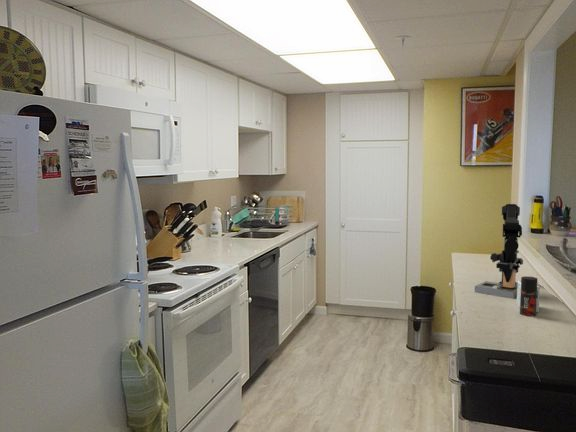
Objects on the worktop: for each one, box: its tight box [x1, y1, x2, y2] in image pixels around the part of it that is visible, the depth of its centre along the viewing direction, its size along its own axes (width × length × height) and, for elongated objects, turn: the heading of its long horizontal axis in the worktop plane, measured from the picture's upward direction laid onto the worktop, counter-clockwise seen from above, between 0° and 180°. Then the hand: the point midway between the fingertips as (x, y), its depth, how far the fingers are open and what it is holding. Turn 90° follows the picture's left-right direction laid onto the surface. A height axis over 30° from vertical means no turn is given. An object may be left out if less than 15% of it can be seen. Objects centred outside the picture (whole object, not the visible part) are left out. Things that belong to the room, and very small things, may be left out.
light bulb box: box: [516, 280, 541, 313], centre depth 217 cm, size 11×7×11 cm, turn 168°
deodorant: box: [519, 276, 538, 317], centre depth 208 cm, size 6×6×15 cm
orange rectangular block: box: [503, 270, 517, 288], centre depth 241 cm, size 4×4×8 cm
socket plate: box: [474, 280, 517, 299], centre depth 245 cm, size 14×18×4 cm
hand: (509, 281), depth 242 cm, fingers closed on orange rectangular block, 4 cm apart
